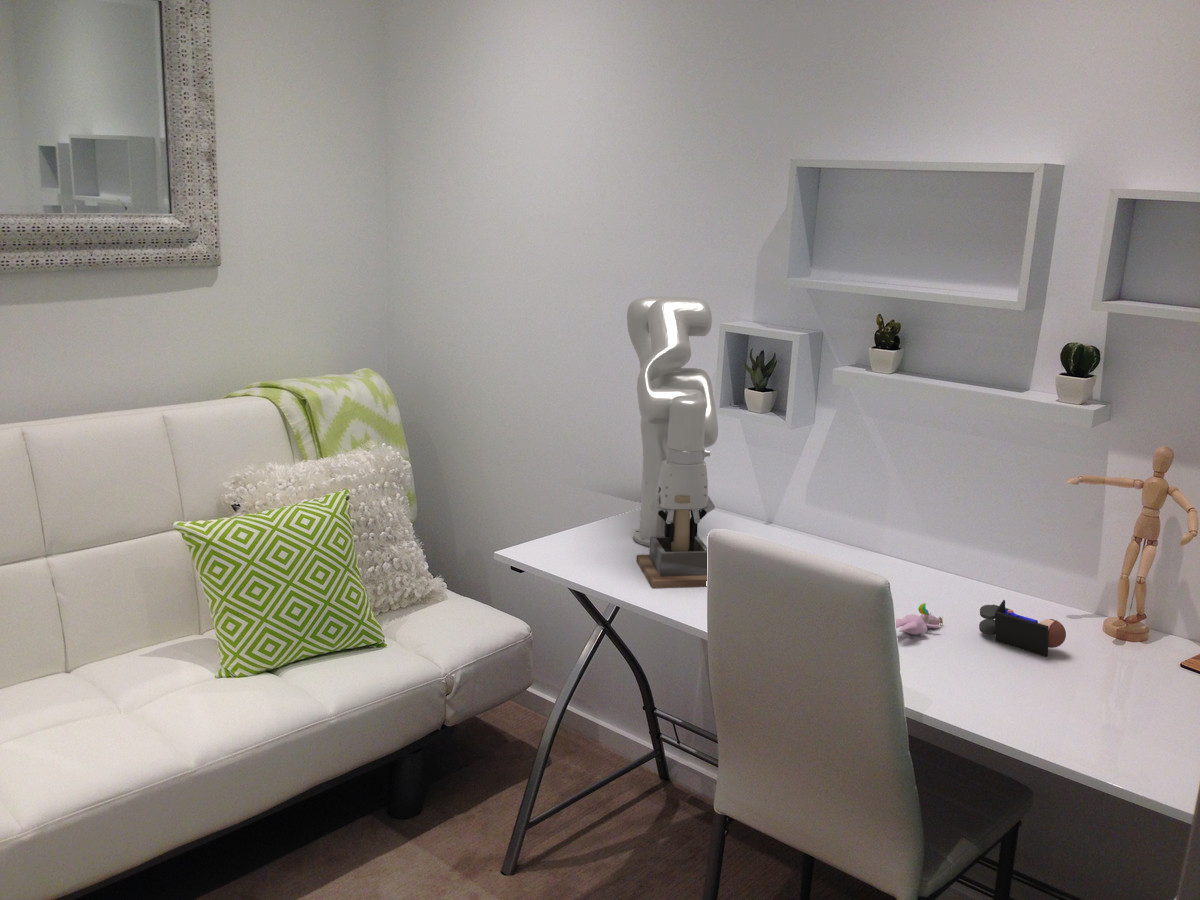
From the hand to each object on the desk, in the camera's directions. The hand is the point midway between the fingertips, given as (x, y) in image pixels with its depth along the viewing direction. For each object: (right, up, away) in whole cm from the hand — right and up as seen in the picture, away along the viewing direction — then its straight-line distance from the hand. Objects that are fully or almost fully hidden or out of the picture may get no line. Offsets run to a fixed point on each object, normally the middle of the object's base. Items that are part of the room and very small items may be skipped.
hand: (680, 538), depth 219 cm
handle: (0, -5, +1) cm, 5 cm away
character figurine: (+60, -17, -29) cm, 68 cm away
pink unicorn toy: (+42, -16, -25) cm, 51 cm away
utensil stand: (0, -7, +2) cm, 8 cm away
